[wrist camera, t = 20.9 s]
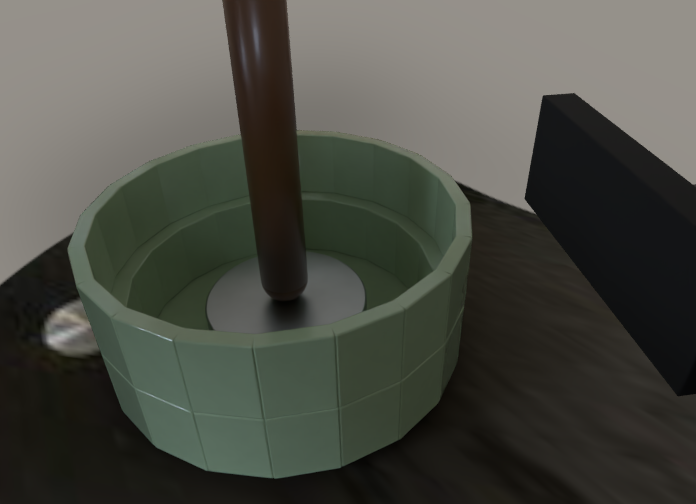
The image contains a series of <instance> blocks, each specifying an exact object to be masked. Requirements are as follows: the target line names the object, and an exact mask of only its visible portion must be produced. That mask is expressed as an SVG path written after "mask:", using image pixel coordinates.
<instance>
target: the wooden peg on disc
mask: <svg viewBox="0 0 696 504" xmlns="http://www.w3.org/2000/svg"><path fill="white" fill-rule="evenodd" d="M222 1H223V8H224V15H225V22H226V29H227V36H228V44H229V51H230V59H231V66H232V74H233V81H234V88H235V95H236V103H237V110H238V117H239V124H240V131H241V139H242V147H243V154H244V161H245V168H246V176H247V183H248V190H249V198H250V205H251V212H252V219H253V227H254V234H255V241H256V249H257V256H258V257H255V258H252V259H249V260H247V261H245V262H243V263H240V264H239V265H237V266H235V267H233V268H232V269H230V270H229V271H228V272H226V273H225V274H224V275H223V276H222V277H220V279H219V280H218V281H217V282H216V283H215V284H214V286H213V287H212V289H211V290H210V293H209V295H208V297H207V301H206V307H205V313H206V319H207V323H208V328H209V330H213V331H225V332H237V333H249V334H259V333H266V332H274V331H281V330H288V329H296V328H303V327H311V326H318V325H326V324H331V323H334V322H336V321H339V320H342V319H344V318H347V317H350V316H352V315H355V314H358V313H360V312H363V311H366V310H367V295H366V289H365V286H364V284H363V282H362V280H361V278H360V277H359V276H358V274H357V273H356V272H355V271H354V270H353V269H352V268H351V267H349V266H348V265H346V264H345V263H343V262H341V261H339V260H337V259H335V258H333V257H330V256H327V255H323V254H319V253H314V252H307V251H306V245H305V232H304V219H303V206H302V193H301V180H300V168H299V155H298V142H297V129H296V116H295V103H294V91H293V78H292V65H291V53H290V40H289V27H288V13H287V2H286V0H222Z"/></svg>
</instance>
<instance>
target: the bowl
mask: <svg viewBox="0 0 696 504" xmlns="http://www.w3.org/2000/svg"><path fill="white" fill-rule="evenodd" d="M297 142H298V155H299V168H300V180H301V193H302V206H303V219H304V232H305V245H306V251H307V252H314V253H319V254H323V255H327V256H330V257H333V258H335V259H337V260H339V261H341V262H343V263H345V264H346V265H348V266H349V267H351V268H352V269H353V270H354V271H355V272H356V273H357V274H358V276H359V277H360V278H361V280H362V282H363V284H364V286H365V289H366V295H367V310H366V311H363V312H360V313H358V314H355V315H352V316H350V317H347V318H344V319H342V320H339V321H336V322H334V323H331V324H326V325H318V326H311V327H303V328H296V329H288V330H281V331H274V332H266V333H259V334H249V333H237V332H225V331H213V330H209V328H208V323H207V319H206V313H205V307H206V301H207V297H208V295H209V293H210V290H211V289H212V287H213V286H214V284H215V283H216V282H217V281H218V280H219V279H220V277H222V276H223V275H224V274H225V273H226V272H228V271H229V270H230V269H232V268H233V267H235V266H237V265H239V264H240V263H243V262H245V261H247V260H249V259H252V258H255V257H258V256H257V249H256V241H255V234H254V227H253V219H252V212H251V205H250V198H249V190H248V183H247V176H246V168H245V161H244V154H243V147H242V139H241V134H240V135H236V136H231V137H226V138H222V139H217V140H213V141H208V142H204V143H199V144H195V145H191V146H188V147H186V148H183V149H181V150H178V151H175V152H173V153H170V154H168V155H165V156H162V157H159V158H157V159H154V160H151V161H149V162H147V163H145V164H144V165H142V166H140V167H139V168H137V169H135V170H134V171H132V172H130V173H129V174H127V175H125V176H124V177H122V178H120V179H119V180H117V181H116V182H114V183H112V184H110V186H108V187H107V188H106V189H105V190H104V191H103V192H102V193H101V194H100V195H99V196H98V197H97V198H96V199H95V200H94V201H93V202H92V203H91V205H90V206H89V207H88V208H87V209H86V210H85V211H84V212H83V213H82V214H81V215H80V217H79V220H78V222H77V225H76V228H75V230H74V233H73V236H72V238H71V241H70V243H69V246H68V255H69V259H70V263H71V267H72V271H73V276H74V280H75V284H76V287H77V290H78V292H79V295H80V298H81V301H82V303H83V306H84V309H85V311H86V314H87V317H88V319H89V322H90V325H91V327H92V330H93V333H94V336H95V338H96V341H97V344H98V346H99V349H100V352H101V354H102V357H103V360H104V363H105V365H106V368H107V371H108V373H109V376H110V379H111V381H112V384H113V387H114V389H115V392H116V395H117V398H118V400H119V403H120V406H121V408H122V410H123V412H124V413H125V414H126V415H127V416H128V417H129V419H130V420H131V421H132V422H133V423H134V424H135V425H136V426H137V427H138V428H139V430H140V431H141V432H142V433H143V434H144V435H145V436H146V437H147V438H148V439H149V441H150V442H151V443H152V444H153V445H155V447H156V448H158V449H161V450H163V451H165V452H167V453H169V454H171V455H173V456H176V457H178V458H180V459H182V460H184V461H186V462H189V463H191V464H193V465H195V466H197V467H199V468H201V469H204V470H206V471H208V470H209V471H211V472H220V473H228V474H237V475H246V476H255V477H263V478H273V477H274V479H278V478H284V477H290V476H296V475H302V474H308V473H314V472H320V471H326V470H332V469H338V468H341V466H346V465H348V464H350V463H352V462H354V461H356V460H358V459H360V458H362V457H364V456H367V455H369V454H371V453H373V452H375V451H377V450H379V449H381V448H383V447H385V446H387V445H390V444H392V443H394V442H396V441H398V439H399V440H400V439H401V438H402V437H403V436H404V435H405V434H406V433H407V432H409V431H410V430H411V429H412V428H413V427H414V426H415V425H416V424H417V423H418V422H419V421H420V420H421V419H422V418H423V417H424V416H425V415H426V414H427V413H428V412H430V411H431V410H432V409H433V408H434V407H435V406H436V405H437V404H438V402H439V400H440V399H441V397H442V394H443V392H444V390H445V388H446V386H447V383H448V381H449V379H450V377H451V375H452V372H453V370H454V368H455V366H456V364H457V360H458V353H459V344H460V336H461V328H462V320H463V311H464V303H465V295H466V287H467V279H468V271H469V262H470V254H471V246H472V221H471V205H470V203H469V201H468V200H467V198H466V197H465V195H464V194H463V192H462V191H461V189H460V188H459V186H458V185H457V184H456V182H455V181H454V179H453V178H452V176H450V175H449V174H448V173H446V172H445V171H443V170H442V169H440V168H439V167H437V166H436V165H434V164H433V163H432V162H430V161H428V160H427V159H426V158H424V157H423V156H421V155H419V154H417V153H414V152H412V151H409V150H406V149H403V148H401V147H398V146H396V145H393V144H390V143H388V142H385V141H382V140H378V139H373V138H367V137H362V136H356V135H351V134H345V133H340V132H329V131H302V130H297Z"/></svg>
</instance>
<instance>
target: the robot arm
mask: <svg viewBox="0 0 696 504" xmlns="http://www.w3.org/2000/svg"><path fill="white" fill-rule="evenodd" d="M525 200H526V201H527V203H528V204H529V205H530V206H531V208H532V209H533V210H534V212H535V213H536V214H537V216H538V217H539V218H540V219H541V221H542V222H543V223H544V225H545V226H546V227H547V228H548V230H549V231H550V232H551V234H552V235H553V236H554V237H555V239H556V240H557V241H558V243H559V244H560V245H561V246H562V248H563V249H564V250H565V252H566V253H567V254H568V255H569V257H570V258H571V259H572V261H573V262H574V263H575V264H576V266H577V267H578V268H579V270H580V271H581V272H582V273H583V275H584V276H585V277H586V279H587V280H588V281H589V282H590V284H591V285H592V286H593V288H594V289H595V290H596V291H597V293H598V294H599V295H600V297H601V298H602V299H603V301H604V302H605V303H606V304H607V306H608V307H609V308H610V310H611V311H612V312H613V313H614V315H615V316H616V317H617V319H618V320H619V321H620V322H621V324H622V325H623V326H624V328H625V329H626V330H627V331H628V333H629V334H630V335H631V337H632V338H633V339H634V340H635V342H636V343H637V344H638V346H639V347H640V348H641V349H642V351H643V352H644V353H645V355H646V356H647V357H648V358H649V360H650V361H651V362H652V364H653V365H654V366H655V367H656V369H657V370H658V371H659V373H660V374H661V375H662V376H663V378H664V379H665V380H666V382H667V383H668V384H669V385H670V387H671V388H672V389H673V391H674V392H675V393H676V394H677V396H683V395H691V394H696V185H692V184H691V183H690V182H689V181H687V180H686V179H685V178H683V177H682V176H681V175H680V174H678V173H677V172H676V171H674V170H673V169H672V168H670V167H669V166H668V165H667V164H665V163H664V162H663V161H661V160H660V159H659V158H658V157H656V156H655V155H654V154H652V153H651V152H650V151H648V150H647V149H646V148H645V147H643V146H642V145H641V144H639V143H638V142H637V141H636V140H634V139H633V138H631V137H630V136H629V135H628V134H626V133H625V132H624V131H622V130H621V129H620V128H619V127H617V126H616V125H615V124H613V123H612V122H611V121H610V120H608V119H607V118H606V117H604V116H603V115H602V114H601V113H599V112H598V111H596V110H595V109H594V108H593V107H591V106H590V105H589V104H588V103H586V102H585V101H584V100H582V99H581V98H580V97H578V96H577V95H576V94H574V93H573V94H572V93H571V94H557V95H544V96H543V98H542V104H541V109H540V115H539V121H538V126H537V132H536V138H535V143H534V148H533V155H532V160H531V165H530V171H529V177H528V183H527V188H526V194H525Z"/></svg>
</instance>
